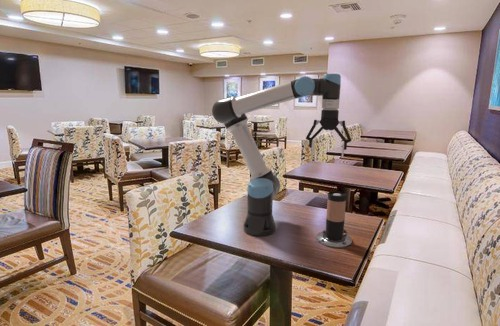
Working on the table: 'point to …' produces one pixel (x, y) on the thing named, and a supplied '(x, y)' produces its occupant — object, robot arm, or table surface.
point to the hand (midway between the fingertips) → (327, 155)
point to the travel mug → (335, 215)
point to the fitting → (325, 241)
